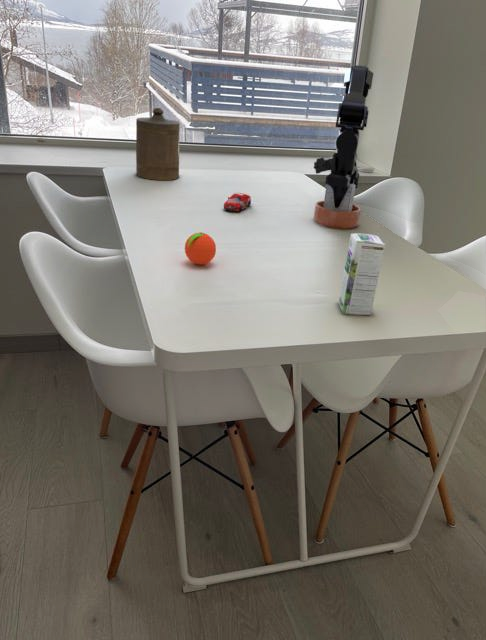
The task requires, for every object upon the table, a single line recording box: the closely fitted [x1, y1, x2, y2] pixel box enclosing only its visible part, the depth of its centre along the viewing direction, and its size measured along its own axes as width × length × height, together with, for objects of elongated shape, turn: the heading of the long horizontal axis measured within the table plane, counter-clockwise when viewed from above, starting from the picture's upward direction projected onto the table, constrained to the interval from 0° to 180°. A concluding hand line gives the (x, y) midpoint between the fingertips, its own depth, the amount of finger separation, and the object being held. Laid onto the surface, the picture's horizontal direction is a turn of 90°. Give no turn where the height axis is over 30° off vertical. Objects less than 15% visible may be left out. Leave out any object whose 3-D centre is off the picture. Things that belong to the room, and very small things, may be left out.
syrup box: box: [338, 233, 386, 316], centre depth 112 cm, size 6×6×14 cm
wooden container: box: [135, 107, 181, 181], centre depth 201 cm, size 15×15×22 cm
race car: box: [223, 192, 252, 213], centre depth 177 cm, size 13×5×4 cm, turn 160°
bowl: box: [313, 200, 361, 230], centre depth 172 cm, size 13×13×5 cm
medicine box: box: [323, 183, 356, 212], centre depth 170 cm, size 8×4×9 cm, turn 71°
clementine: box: [184, 231, 217, 266], centre depth 128 cm, size 8×7×7 cm
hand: (338, 205), depth 171 cm, fingers closed on medicine box, 4 cm apart
